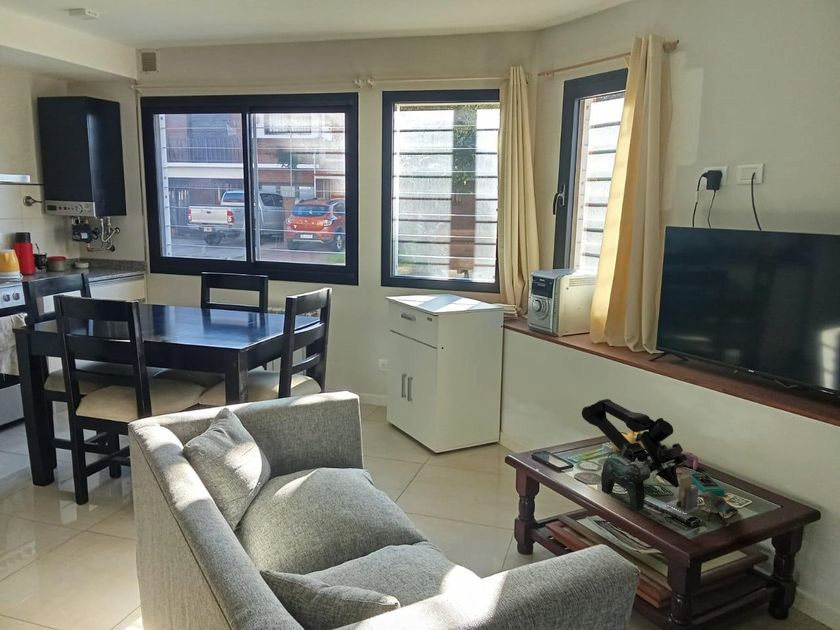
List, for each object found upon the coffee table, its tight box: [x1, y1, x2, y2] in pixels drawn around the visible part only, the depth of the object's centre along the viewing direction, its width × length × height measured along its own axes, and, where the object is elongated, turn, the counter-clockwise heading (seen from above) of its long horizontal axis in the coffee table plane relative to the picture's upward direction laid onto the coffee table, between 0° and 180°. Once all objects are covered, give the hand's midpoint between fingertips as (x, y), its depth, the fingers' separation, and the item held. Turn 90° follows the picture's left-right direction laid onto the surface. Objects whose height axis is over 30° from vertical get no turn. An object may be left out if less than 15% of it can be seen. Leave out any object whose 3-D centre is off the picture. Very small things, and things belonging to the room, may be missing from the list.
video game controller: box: [678, 450, 699, 471], centre depth 258 cm, size 10×5×7 cm, turn 58°
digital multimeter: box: [688, 472, 725, 497], centre depth 240 cm, size 7×15×3 cm, turn 1°
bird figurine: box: [695, 491, 739, 527], centre depth 214 cm, size 13×10×20 cm
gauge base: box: [666, 486, 700, 514], centre depth 223 cm, size 7×7×8 cm
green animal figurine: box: [600, 449, 651, 512], centre depth 227 cm, size 20×6×20 cm, turn 26°
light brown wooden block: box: [676, 474, 693, 506], centre depth 222 cm, size 2×6×10 cm, turn 122°
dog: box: [609, 430, 646, 453], centre depth 267 cm, size 8×20×13 cm, turn 28°
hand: (677, 487), depth 225 cm, fingers closed
